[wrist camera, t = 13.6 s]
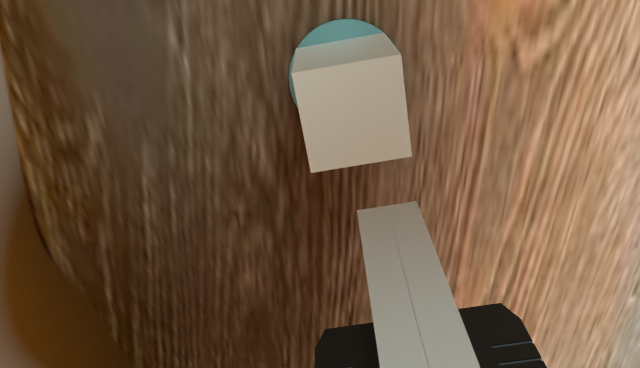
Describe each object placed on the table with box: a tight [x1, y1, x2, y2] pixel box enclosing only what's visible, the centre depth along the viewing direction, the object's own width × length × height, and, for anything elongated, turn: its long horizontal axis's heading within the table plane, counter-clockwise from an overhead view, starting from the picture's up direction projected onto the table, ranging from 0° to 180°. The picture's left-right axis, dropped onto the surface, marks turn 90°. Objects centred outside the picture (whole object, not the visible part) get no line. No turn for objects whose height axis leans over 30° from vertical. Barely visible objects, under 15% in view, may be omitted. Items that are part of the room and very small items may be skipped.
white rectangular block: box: [291, 33, 412, 173], centre depth 28 cm, size 5×5×7 cm
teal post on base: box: [289, 19, 395, 108], centre depth 29 cm, size 7×7×7 cm
